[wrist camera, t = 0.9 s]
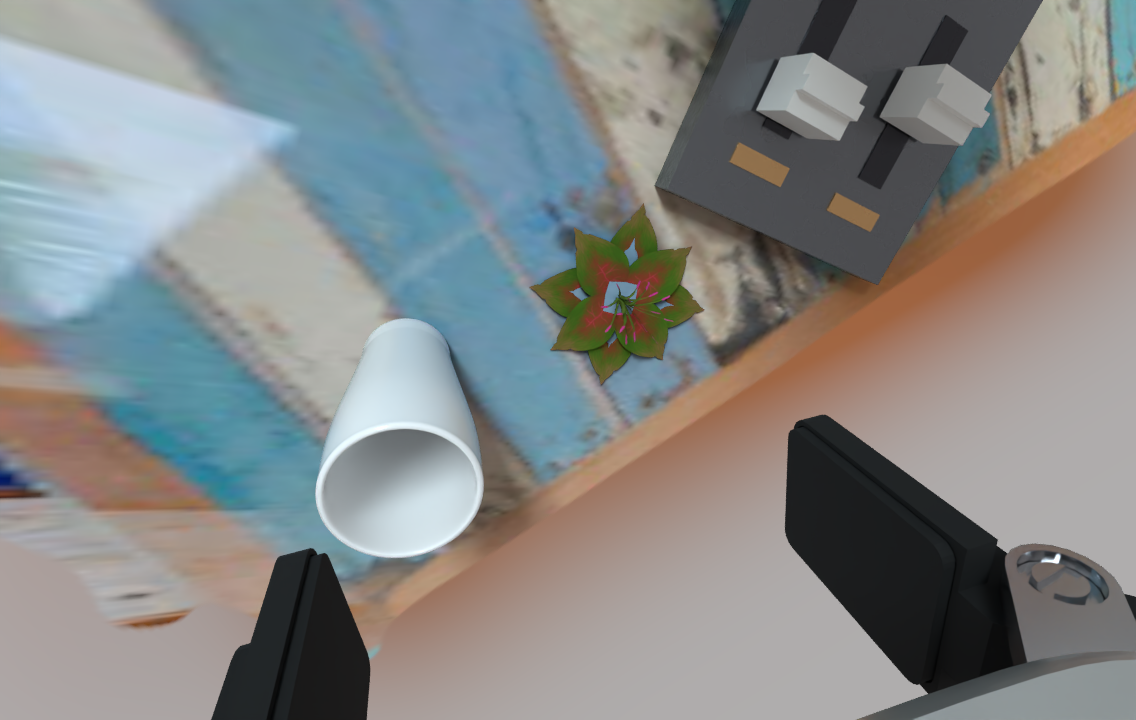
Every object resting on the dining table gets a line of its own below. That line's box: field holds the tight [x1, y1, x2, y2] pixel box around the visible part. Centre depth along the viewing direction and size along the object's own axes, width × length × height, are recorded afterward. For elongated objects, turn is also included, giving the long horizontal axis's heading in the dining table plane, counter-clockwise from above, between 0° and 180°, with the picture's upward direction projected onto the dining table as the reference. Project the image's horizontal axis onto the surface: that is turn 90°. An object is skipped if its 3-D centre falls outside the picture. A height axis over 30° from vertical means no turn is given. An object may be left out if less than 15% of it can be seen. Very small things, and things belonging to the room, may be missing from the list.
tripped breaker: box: [880, 64, 992, 146], centre depth 34 cm, size 3×4×4 cm
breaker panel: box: [655, 0, 1043, 285], centre depth 36 cm, size 20×18×2 cm
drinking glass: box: [316, 318, 484, 558], centre depth 30 cm, size 7×7×15 cm
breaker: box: [756, 53, 868, 141], centre depth 32 cm, size 3×4×4 cm
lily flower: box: [530, 203, 704, 384], centre depth 37 cm, size 12×12×5 cm
